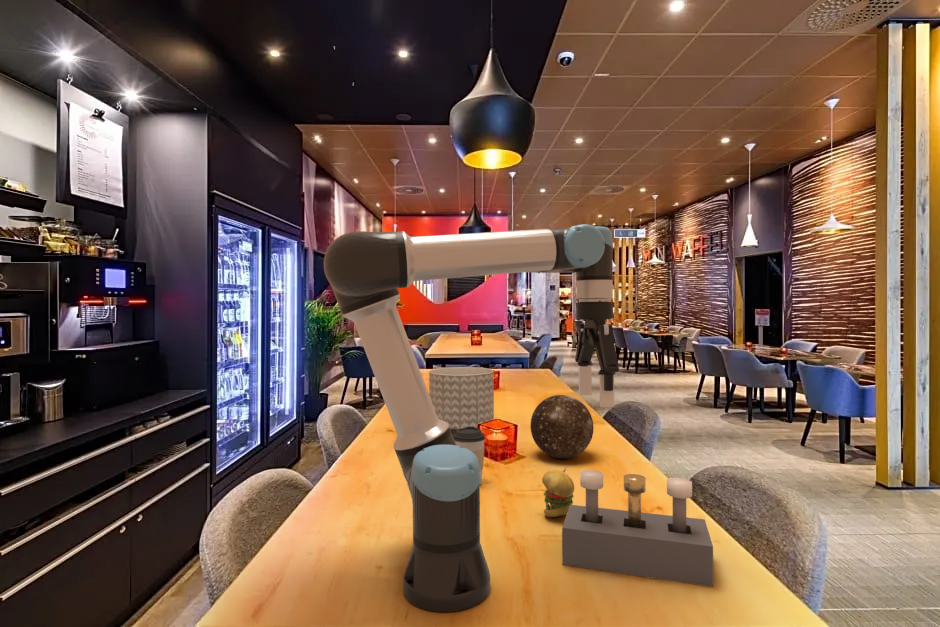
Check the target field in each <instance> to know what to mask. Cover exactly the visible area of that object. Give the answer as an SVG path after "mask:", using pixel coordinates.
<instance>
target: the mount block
mask: <svg viewBox="0 0 940 627" xmlns="http://www.w3.org/2000/svg"><path fill="white" fill-rule="evenodd" d="M563 521H564V522H563V525H562V527H561V533H562V534H561V536H562V537H561V554H562V556H561V558H562V559H561V560H562V562H561V563H562V565H563V566H569V567H576V568H577V567H578V568H582V569H590V570H597V571H605V572H611V573H617V574H625V575H629V576H630V575H632V576H637V577H644V578H651V579H659V580H665V581H671V582H672V581H673V582H680V583H685V584H694V585H699V586H700V585H701V586H705V587H706V586H707V587H713V586H714V545H713V543H712V542H713V541H712V539H711V536H710V532H709V528H708V526H707V523H706V519H704V518H697V517H687V516H686V534H683V533H674V532H673V515H669V514H668V515H667V514H659V513H651V512H650V513H649V512H642V511H641V528H632V527H628V510H622V509H616V508H615V509H613V508H605V507H604V508H603V507H598V523H590V522H586V505H585V506H584V505H577V504H572V505H570V507H569V510H568V512H567V513H566V516H565V519H564V520H563Z"/></svg>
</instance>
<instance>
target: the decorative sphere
mask: <svg viewBox="0 0 940 627" xmlns="http://www.w3.org/2000/svg"><path fill="white" fill-rule="evenodd" d="M529 427H530V432H531V437H532V439H533V441H534V443H535V445H536V446H537V448H539V449H540V450H541V452H543V453H545V454H546V455H548V456H549V457H553V458H557V459H571V458H575V457H577V456H578V455H580V454H582V453H583V452H584V451H585V450H586V449H587V448H588V447H589V445H590V444H591V441H592V439H593V436H594V420H593V417H592V415H591V413H590V410H589V409H588V408H587V407H586V405H585V404H584V403H583V402H581V401H580V400H579V399H576V398H575V397H573V396H570V395H565V394H556V395H552V396H549V397H547V398H545V399H544V400H542V401H541V402H539V403H538V404H537V406H536V407H535V409H534V411H533V412H532V415H531V418H530V426H529Z"/></svg>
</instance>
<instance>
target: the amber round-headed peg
mask: <svg viewBox="0 0 940 627" xmlns="http://www.w3.org/2000/svg"><path fill="white" fill-rule="evenodd" d="M646 489H647V488H646V477H645V476H644V475H641V474H638V473H637V474H636V473H628V474H624V475H623V491H625V492H627V511H628V527H632V528H641V512H642V494H645V492H646Z"/></svg>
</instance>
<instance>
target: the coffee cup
mask: <svg viewBox="0 0 940 627" xmlns="http://www.w3.org/2000/svg"><path fill="white" fill-rule="evenodd" d="M452 435H453V438H454V440H455V443H456V446H460V447H461V448H466V449H468V450H470V451H472V452H473V453H474V454H475V455H476V457H477V459H478V462H479V469H480V476H481V479H480V486H481V485H482V482H483V481H482V480H483V469H484V462H485V460H484V458H485V439H486V437H485V436H486V434H485V433H484V432H482V430H480V429H477V428H475V427H471V426H468V427H466V428H462V429H458V430H457V431H456V433H454V434H452Z"/></svg>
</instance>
